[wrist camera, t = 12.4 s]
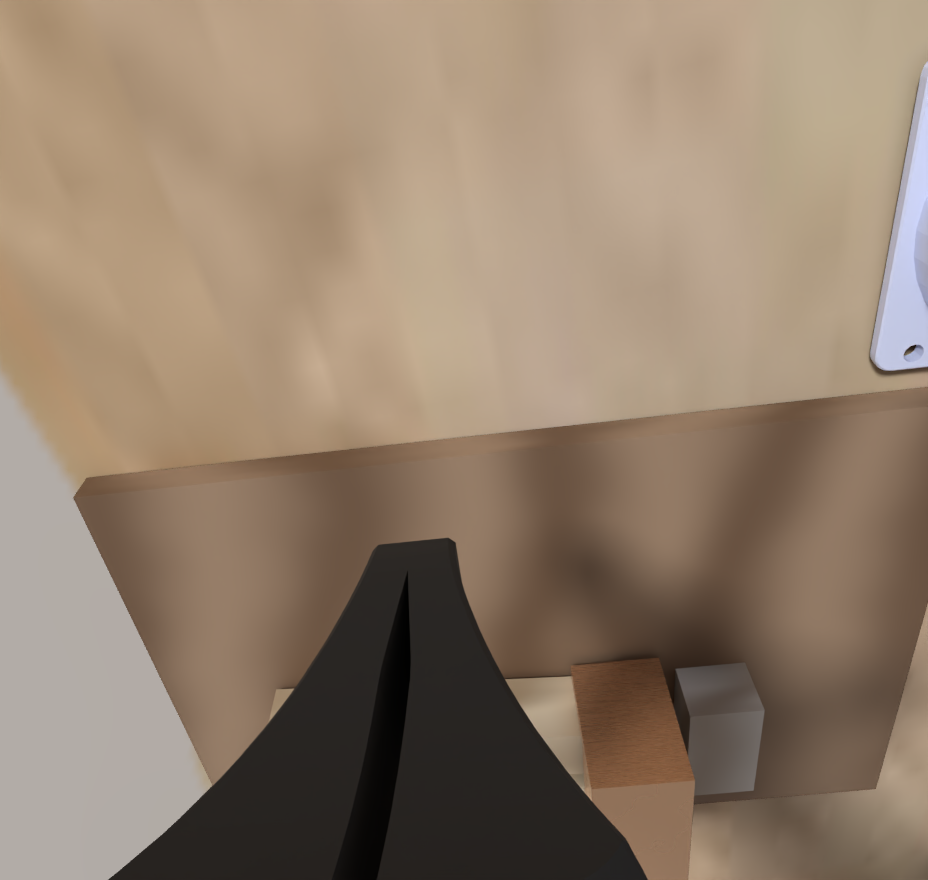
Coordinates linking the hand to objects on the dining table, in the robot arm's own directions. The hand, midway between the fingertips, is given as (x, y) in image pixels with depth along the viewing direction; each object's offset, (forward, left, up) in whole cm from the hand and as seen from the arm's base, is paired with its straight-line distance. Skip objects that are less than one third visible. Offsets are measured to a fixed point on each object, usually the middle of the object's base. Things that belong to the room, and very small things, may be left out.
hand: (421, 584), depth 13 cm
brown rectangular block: (-5, +15, -8) cm, 18 cm away
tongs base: (-2, +12, -9) cm, 15 cm away
